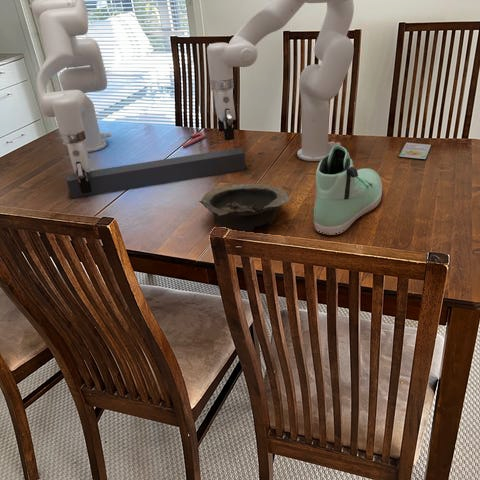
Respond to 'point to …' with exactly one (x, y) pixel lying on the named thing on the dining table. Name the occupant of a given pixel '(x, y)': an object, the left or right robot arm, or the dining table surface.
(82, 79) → the left robot arm
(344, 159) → the sneaker
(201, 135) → the red elongated piece
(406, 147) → the baking ingredient package
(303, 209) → the dining table surface
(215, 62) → the right robot arm
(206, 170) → the beam
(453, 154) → the dining table surface
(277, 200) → the stone bowl
